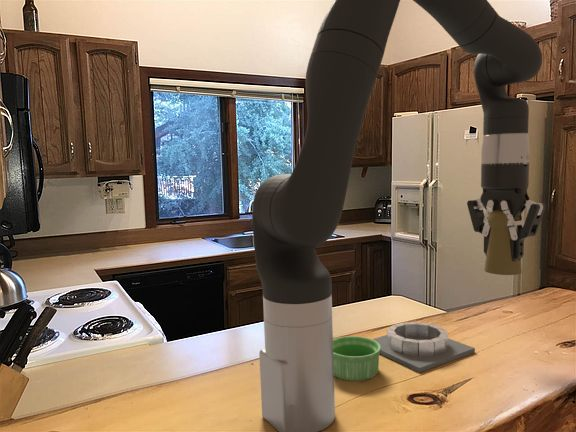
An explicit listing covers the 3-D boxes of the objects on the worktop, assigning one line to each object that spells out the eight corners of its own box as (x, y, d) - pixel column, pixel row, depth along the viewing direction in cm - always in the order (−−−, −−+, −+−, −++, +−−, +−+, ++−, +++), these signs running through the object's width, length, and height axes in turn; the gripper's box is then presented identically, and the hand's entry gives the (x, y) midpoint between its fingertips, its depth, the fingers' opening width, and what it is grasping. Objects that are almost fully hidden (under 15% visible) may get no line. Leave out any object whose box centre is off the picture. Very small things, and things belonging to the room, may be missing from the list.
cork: (513, 267, 85) (515, 207, 84) (527, 275, 79) (529, 210, 78) (479, 267, 86) (480, 208, 84) (490, 275, 80) (491, 211, 78)
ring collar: (418, 361, 78) (418, 347, 78) (376, 342, 87) (376, 329, 87) (459, 347, 84) (459, 333, 83) (416, 330, 92) (415, 318, 92)
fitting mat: (419, 372, 76) (419, 368, 76) (363, 346, 88) (362, 341, 88) (474, 352, 83) (474, 347, 83) (415, 330, 95) (415, 326, 95)
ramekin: (326, 383, 74) (325, 356, 73) (327, 359, 83) (326, 335, 82) (383, 384, 73) (383, 357, 72) (378, 360, 82) (378, 335, 81)
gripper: (456, 162, 84) (455, 255, 86) (532, 160, 72) (529, 268, 74) (482, 161, 88) (481, 250, 90) (558, 159, 76) (555, 262, 78)
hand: (502, 258), depth 82 cm, fingers closed on cork, 4 cm apart
